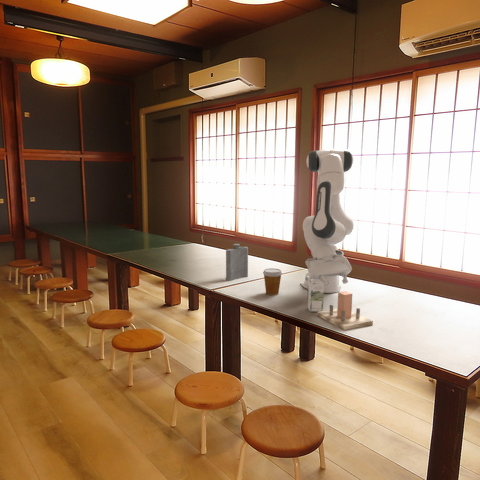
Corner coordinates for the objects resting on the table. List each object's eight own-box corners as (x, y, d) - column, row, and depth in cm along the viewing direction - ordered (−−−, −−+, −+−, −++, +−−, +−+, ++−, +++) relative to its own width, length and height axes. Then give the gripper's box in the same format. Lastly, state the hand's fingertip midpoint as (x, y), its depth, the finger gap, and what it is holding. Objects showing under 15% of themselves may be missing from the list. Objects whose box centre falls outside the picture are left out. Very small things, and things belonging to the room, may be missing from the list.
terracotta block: (337, 315, 169) (338, 292, 167) (344, 314, 171) (345, 291, 169) (343, 318, 165) (344, 294, 164) (351, 317, 167) (352, 293, 166)
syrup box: (319, 307, 183) (321, 276, 181) (323, 312, 177) (324, 280, 175) (307, 308, 183) (308, 276, 181) (310, 312, 177) (311, 280, 175)
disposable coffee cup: (267, 289, 211) (267, 267, 209) (284, 292, 207) (284, 269, 205) (259, 294, 203) (260, 271, 201) (277, 297, 199) (278, 273, 197)
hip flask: (228, 281, 228) (228, 246, 225) (223, 279, 231) (223, 245, 228) (249, 276, 239) (249, 243, 235) (244, 275, 242) (244, 242, 238)
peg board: (317, 315, 174) (317, 303, 173) (343, 310, 179) (344, 298, 178) (344, 330, 157) (345, 316, 157) (372, 324, 163) (373, 311, 162)
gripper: (307, 255, 172) (319, 283, 165) (345, 250, 180) (359, 277, 173) (300, 263, 177) (313, 291, 170) (339, 258, 185) (352, 285, 178)
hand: (336, 284), depth 172 cm, fingers open, 8 cm apart
